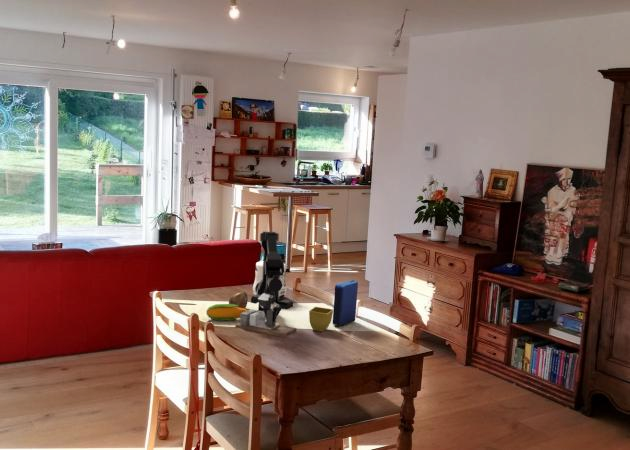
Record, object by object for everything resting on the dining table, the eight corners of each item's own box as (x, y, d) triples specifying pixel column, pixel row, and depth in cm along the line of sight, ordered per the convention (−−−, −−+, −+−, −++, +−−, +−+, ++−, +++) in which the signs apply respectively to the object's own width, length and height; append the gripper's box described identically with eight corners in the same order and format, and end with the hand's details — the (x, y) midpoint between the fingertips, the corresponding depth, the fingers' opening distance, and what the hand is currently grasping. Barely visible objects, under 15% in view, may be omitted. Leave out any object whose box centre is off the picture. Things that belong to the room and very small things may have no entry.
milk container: (252, 293, 365) (253, 259, 363) (284, 294, 367) (286, 261, 365) (252, 301, 348) (254, 266, 346) (286, 302, 350) (288, 267, 348)
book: (347, 319, 325) (350, 278, 322) (357, 322, 322) (360, 280, 319) (330, 325, 313) (333, 283, 311) (340, 328, 310) (343, 285, 308)
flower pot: (332, 328, 310) (333, 309, 308) (326, 333, 301) (327, 313, 300) (314, 325, 312) (315, 306, 311) (307, 330, 304) (308, 310, 303)
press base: (249, 320, 314) (250, 307, 313) (295, 330, 303) (296, 317, 302) (235, 326, 303) (235, 313, 303) (282, 337, 293) (282, 323, 292)
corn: (206, 301, 314) (249, 301, 319) (205, 316, 316) (248, 316, 320) (207, 306, 307) (251, 306, 312) (206, 322, 309) (250, 322, 313)
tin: (233, 314, 323) (233, 297, 321) (227, 313, 324) (227, 296, 322) (247, 307, 336) (248, 290, 335) (242, 306, 338) (242, 289, 336)
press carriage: (259, 321, 309) (259, 304, 308) (280, 325, 304) (281, 308, 303) (249, 325, 302) (250, 308, 301) (270, 330, 297) (271, 312, 296)
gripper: (244, 286, 297) (243, 321, 299) (281, 293, 288) (280, 329, 290) (258, 281, 306) (256, 315, 309) (294, 288, 298) (292, 323, 300)
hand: (270, 320), depth 302 cm, fingers closed on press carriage, 3 cm apart
